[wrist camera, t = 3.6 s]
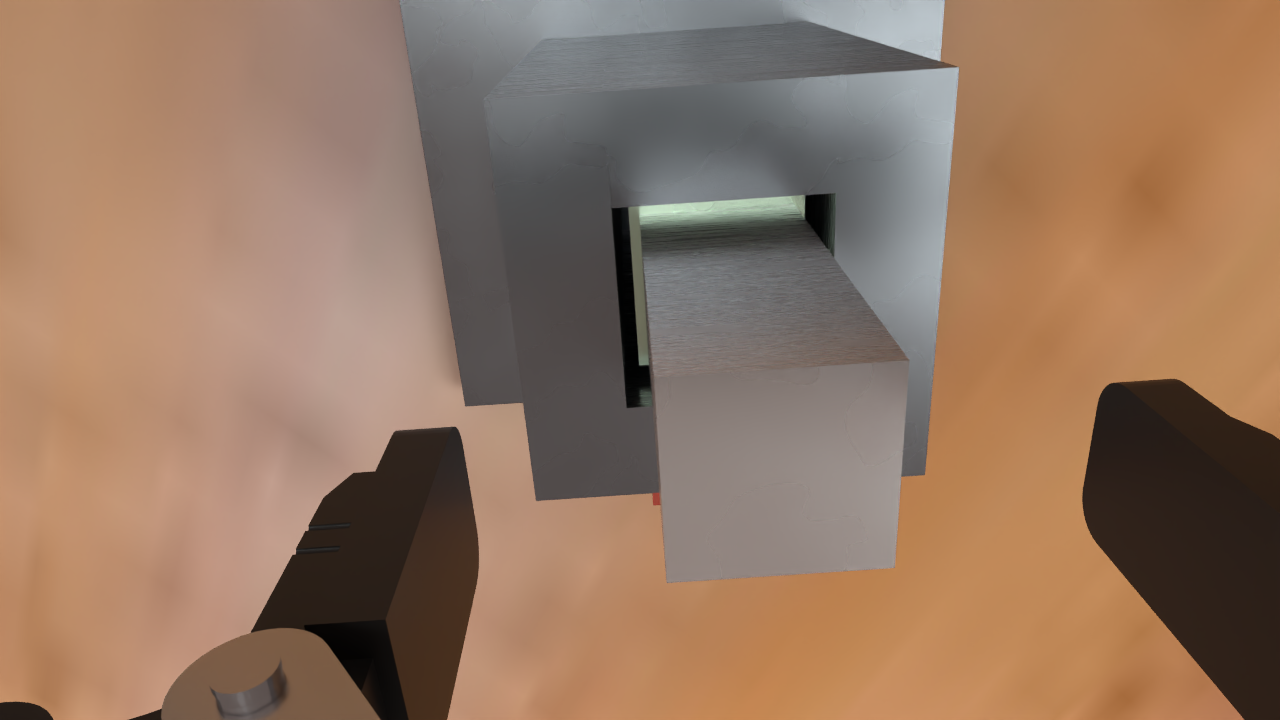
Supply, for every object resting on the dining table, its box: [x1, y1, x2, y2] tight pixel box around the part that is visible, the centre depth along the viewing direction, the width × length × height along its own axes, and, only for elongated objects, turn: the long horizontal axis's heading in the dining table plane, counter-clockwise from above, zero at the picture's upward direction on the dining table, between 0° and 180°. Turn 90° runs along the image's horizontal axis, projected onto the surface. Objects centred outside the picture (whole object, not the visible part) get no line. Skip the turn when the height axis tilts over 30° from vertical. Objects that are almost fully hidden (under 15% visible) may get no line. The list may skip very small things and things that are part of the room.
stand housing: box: [399, 0, 959, 505], centre depth 23 cm, size 16×16×14 cm
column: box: [628, 195, 909, 583], centre depth 19 cm, size 3×3×18 cm
